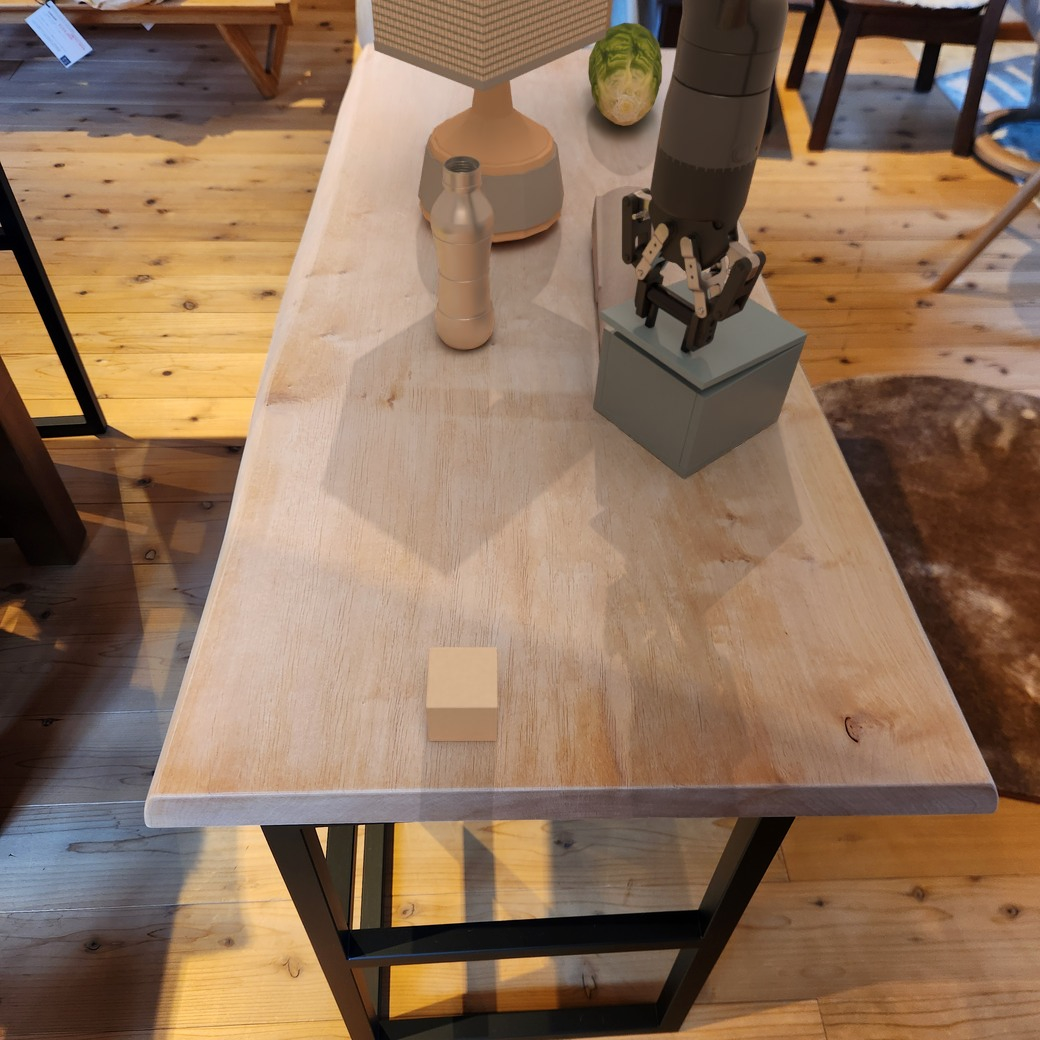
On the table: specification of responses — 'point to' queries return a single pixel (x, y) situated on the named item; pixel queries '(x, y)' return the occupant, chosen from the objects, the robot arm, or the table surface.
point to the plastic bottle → (463, 255)
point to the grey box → (687, 403)
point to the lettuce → (625, 73)
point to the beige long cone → (611, 252)
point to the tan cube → (462, 694)
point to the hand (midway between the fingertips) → (670, 329)
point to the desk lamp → (492, 93)
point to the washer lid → (726, 355)
